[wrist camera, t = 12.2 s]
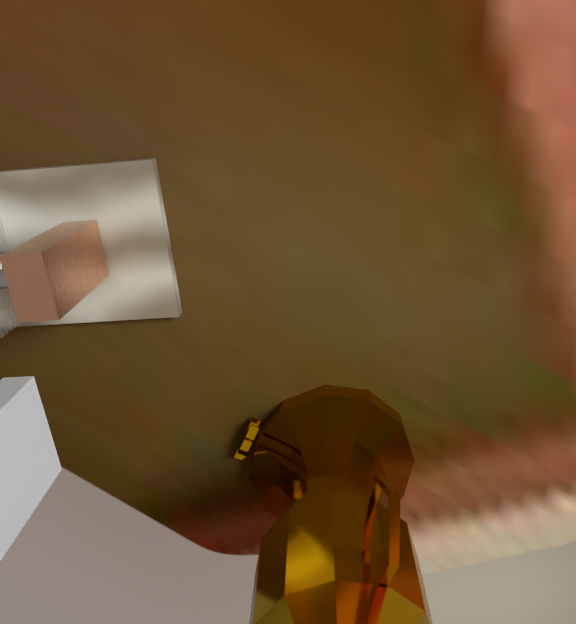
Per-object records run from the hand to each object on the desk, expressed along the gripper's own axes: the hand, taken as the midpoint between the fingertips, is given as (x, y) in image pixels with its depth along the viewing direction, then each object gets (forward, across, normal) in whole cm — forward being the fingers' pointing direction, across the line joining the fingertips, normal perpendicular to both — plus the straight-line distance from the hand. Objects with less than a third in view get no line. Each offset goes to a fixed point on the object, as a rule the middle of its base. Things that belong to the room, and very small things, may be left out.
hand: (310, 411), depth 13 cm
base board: (+35, -24, -4) cm, 43 cm away
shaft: (+33, -27, -4) cm, 43 cm away
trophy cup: (+35, -1, -28) cm, 45 cm away
